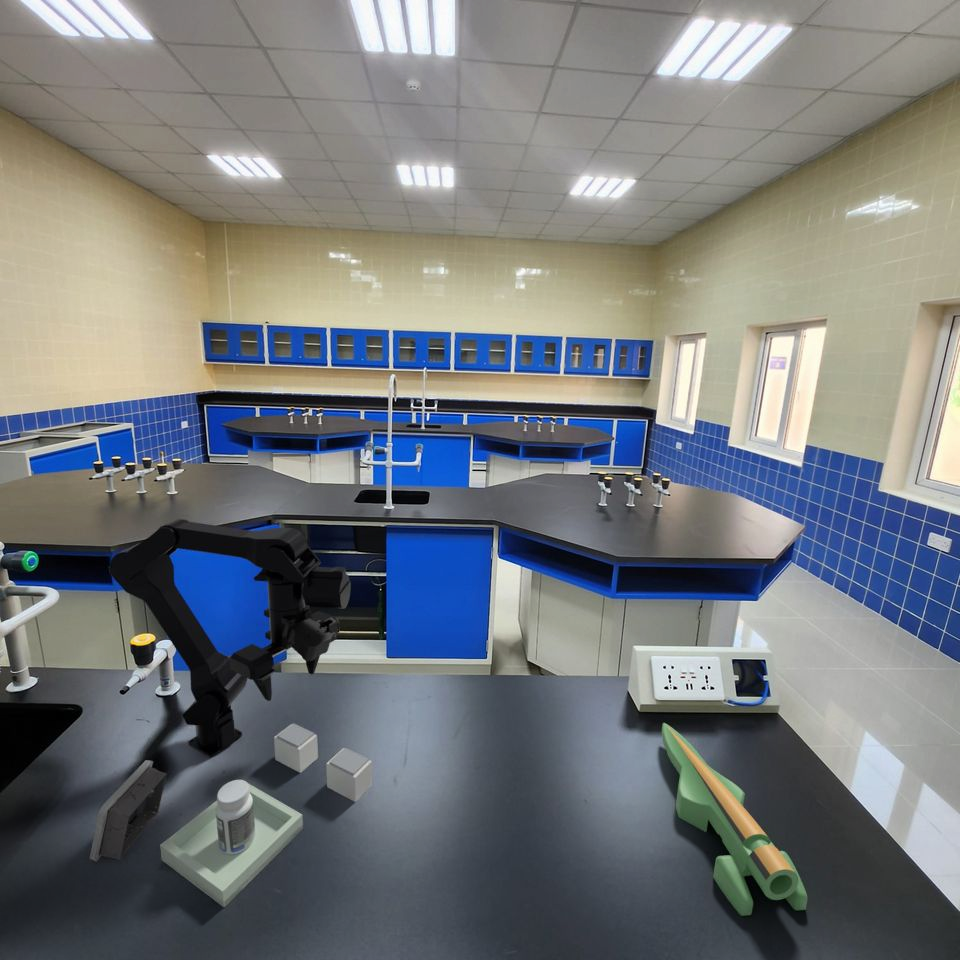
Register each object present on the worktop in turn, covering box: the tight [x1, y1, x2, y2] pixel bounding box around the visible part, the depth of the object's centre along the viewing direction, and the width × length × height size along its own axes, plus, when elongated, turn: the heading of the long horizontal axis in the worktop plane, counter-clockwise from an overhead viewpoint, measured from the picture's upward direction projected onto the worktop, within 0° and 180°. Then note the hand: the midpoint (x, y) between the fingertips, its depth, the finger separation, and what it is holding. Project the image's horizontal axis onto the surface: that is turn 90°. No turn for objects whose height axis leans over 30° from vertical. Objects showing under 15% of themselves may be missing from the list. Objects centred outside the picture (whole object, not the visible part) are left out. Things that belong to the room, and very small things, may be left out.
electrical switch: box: [89, 759, 168, 862], centre depth 73 cm, size 9×5×9 cm, turn 176°
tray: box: [159, 783, 304, 908], centre depth 73 cm, size 13×13×2 cm
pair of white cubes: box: [273, 723, 373, 803], centre depth 86 cm, size 18×4×5 cm, turn 62°
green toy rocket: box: [661, 722, 808, 917], centre depth 81 cm, size 32×10×7 cm, turn 6°
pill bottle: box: [215, 779, 255, 854], centre depth 72 cm, size 5×5×8 cm
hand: (290, 686), depth 90 cm, fingers open, 9 cm apart
